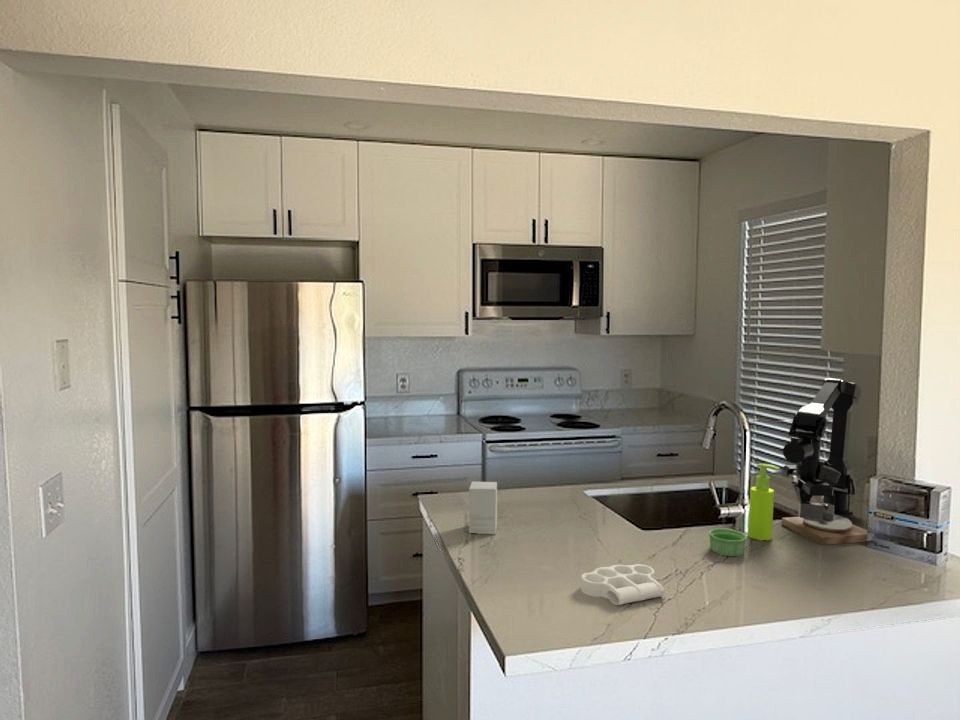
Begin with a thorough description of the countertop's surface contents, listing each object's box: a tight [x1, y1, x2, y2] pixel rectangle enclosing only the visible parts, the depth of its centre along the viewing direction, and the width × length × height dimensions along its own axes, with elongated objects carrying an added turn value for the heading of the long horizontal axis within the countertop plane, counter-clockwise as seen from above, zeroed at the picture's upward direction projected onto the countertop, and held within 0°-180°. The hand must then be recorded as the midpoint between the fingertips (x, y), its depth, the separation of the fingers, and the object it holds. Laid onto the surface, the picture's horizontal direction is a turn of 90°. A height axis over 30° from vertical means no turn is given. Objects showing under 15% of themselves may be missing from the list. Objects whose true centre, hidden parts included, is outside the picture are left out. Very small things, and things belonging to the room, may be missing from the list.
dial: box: [798, 501, 853, 532], centre depth 182 cm, size 13×12×6 cm
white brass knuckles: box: [580, 563, 666, 606], centre depth 145 cm, size 3×18×15 cm
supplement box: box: [468, 480, 498, 535], centre depth 181 cm, size 7×7×13 cm
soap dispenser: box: [747, 462, 781, 541], centre depth 177 cm, size 6×7×20 cm
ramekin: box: [708, 527, 748, 557], centre depth 168 cm, size 9×9×4 cm
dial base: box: [781, 516, 868, 546], centre depth 182 cm, size 16×16×2 cm
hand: (804, 509), depth 186 cm, fingers closed
